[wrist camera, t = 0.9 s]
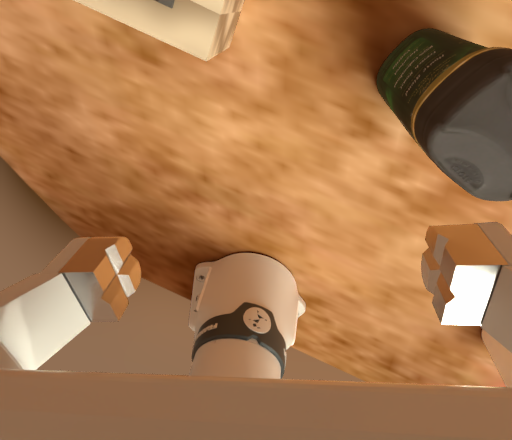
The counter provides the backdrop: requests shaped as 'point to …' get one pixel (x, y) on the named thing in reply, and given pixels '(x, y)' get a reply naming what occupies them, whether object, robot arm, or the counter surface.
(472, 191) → the coffee jar
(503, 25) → the counter surface
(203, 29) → the socket block
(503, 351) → the pill bottle
